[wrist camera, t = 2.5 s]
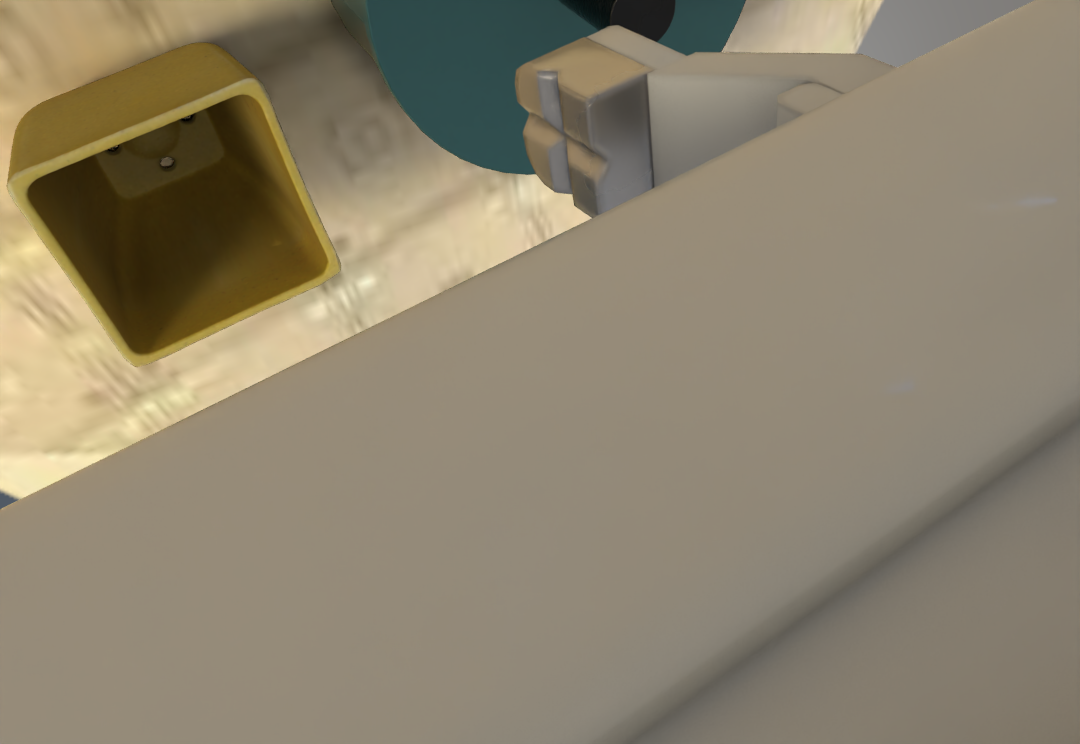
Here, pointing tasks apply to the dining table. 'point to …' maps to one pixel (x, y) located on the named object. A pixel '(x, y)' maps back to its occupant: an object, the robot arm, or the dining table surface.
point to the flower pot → (170, 200)
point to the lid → (509, 58)
